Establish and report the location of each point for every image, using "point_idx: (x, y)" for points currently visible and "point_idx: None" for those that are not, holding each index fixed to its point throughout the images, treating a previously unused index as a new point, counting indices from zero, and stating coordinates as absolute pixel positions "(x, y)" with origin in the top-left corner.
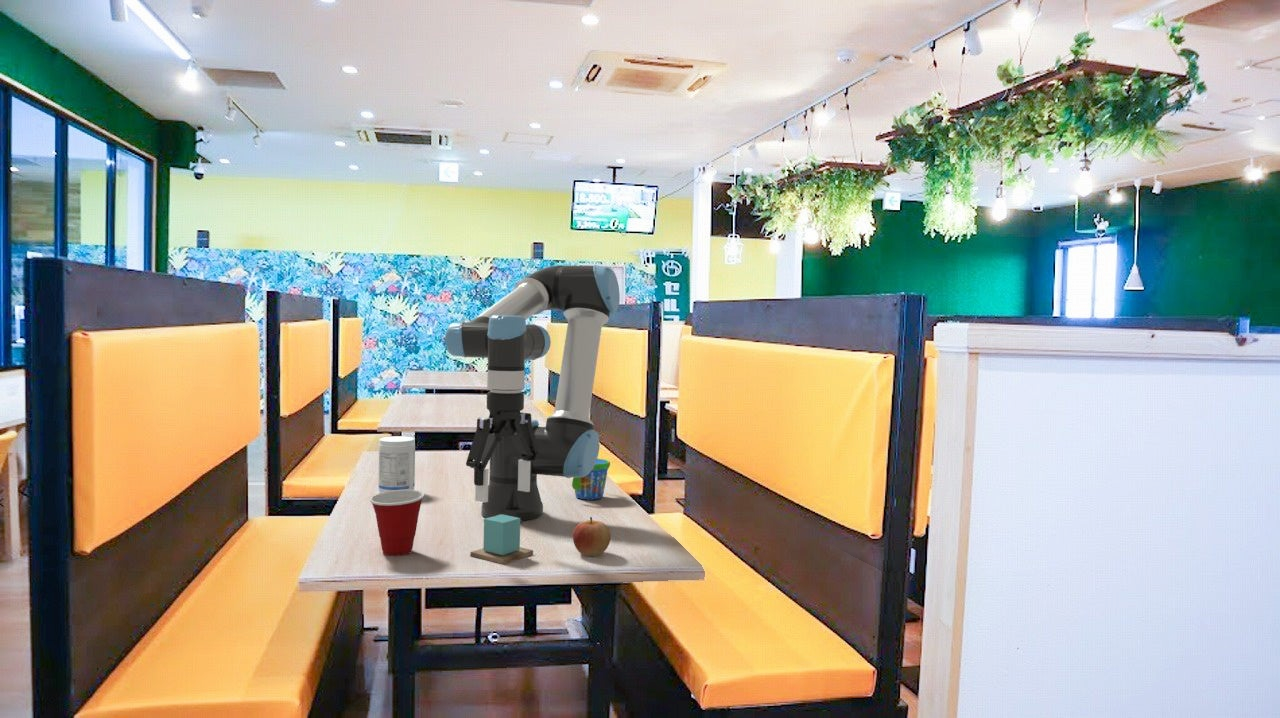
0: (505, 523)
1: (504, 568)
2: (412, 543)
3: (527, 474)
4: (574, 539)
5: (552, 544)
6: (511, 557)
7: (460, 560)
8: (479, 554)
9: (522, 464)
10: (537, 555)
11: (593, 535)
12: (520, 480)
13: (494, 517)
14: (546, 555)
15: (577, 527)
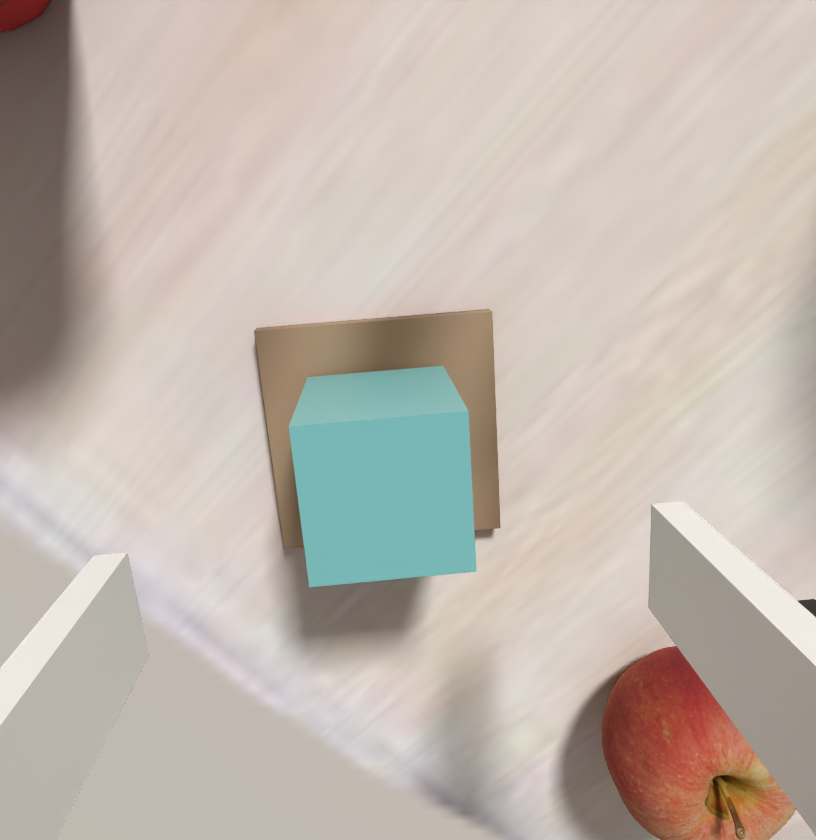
0: (331, 580)
1: (247, 585)
2: (14, 12)
3: (726, 709)
4: (615, 716)
5: (689, 467)
6: None
7: (171, 350)
8: (263, 395)
9: (797, 717)
10: (496, 546)
11: (642, 826)
12: (693, 579)
13: (369, 444)
14: (523, 573)
15: (657, 760)
